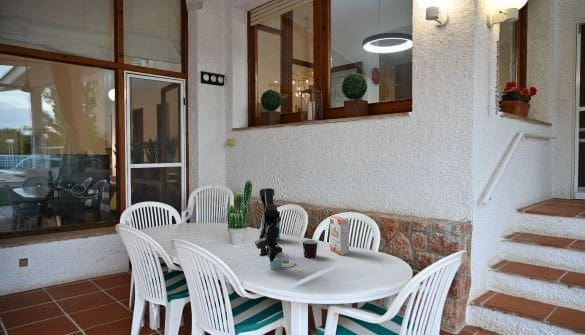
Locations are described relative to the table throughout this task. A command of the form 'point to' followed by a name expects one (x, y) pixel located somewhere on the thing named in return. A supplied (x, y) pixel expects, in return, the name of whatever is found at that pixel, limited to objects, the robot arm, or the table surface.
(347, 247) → the cracker box
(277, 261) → the dial
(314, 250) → the coffee mug
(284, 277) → the table surface
